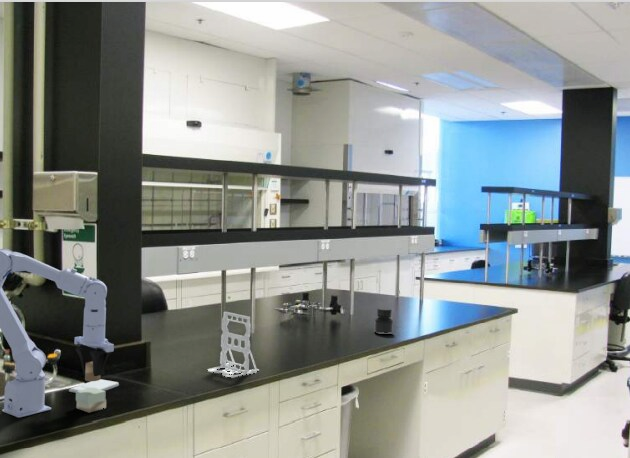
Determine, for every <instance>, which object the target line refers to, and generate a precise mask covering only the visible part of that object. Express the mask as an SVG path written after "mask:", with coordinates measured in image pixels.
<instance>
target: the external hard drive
mask: <svg viewBox="0 0 630 458" xmlns="http://www.w3.org/2000/svg"><path fill="white" fill-rule="evenodd" d="M119 386H120V384H119V382H118V381H112V380H108V379H107V380H106V379H103V378H102V379H101V378H100V380H98V381H87V382H86V383H83V384H79V385H76V386H74V387H71V388H69V389H68V392H70V393H75V394H76V391H80V390H84V389H89V388H93V387H94V388H97V389H100V390H103V391H108V390H111V389H113V388H117V387H119Z"/></svg>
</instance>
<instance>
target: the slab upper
mask: <svg viewBox="0 0 630 458" xmlns="http://www.w3.org/2000/svg"><path fill="white" fill-rule="evenodd" d="M106 391H107V390H105V391H103V390H100V389H97V388H94V387H93V388H89V389H84V390H80V391H76V393H75V401H76V402H77V401H79V402H82V403H85V404H87V405H88V404H92V403H97V402H101V401H105V400H106Z"/></svg>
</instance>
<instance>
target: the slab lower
mask: <svg viewBox="0 0 630 458" xmlns="http://www.w3.org/2000/svg"><path fill="white" fill-rule="evenodd" d="M75 408H76V409H78V410H81V411H84V412H87V413H92V412H97V411H101V410H104V409H106V408H107V399H105V401H101V402H97V403H92V404H88V405H87V404H85V403H82V402H79V401H76V407H75ZM103 408H104V409H103Z"/></svg>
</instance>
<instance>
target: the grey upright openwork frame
mask: <svg viewBox="0 0 630 458" xmlns="http://www.w3.org/2000/svg"><path fill="white" fill-rule="evenodd" d="M222 314H223V317H222V318H221V331H222V334H221V335H220V347H221V351H220V354H219V355H220V357H219V364H220V365H219V366H215V367H211V368H207V370H208V371H207V372H208V373H211V374H217V373H218V374H221V373H222V377H224V376H225V377H224V378H227V377H231V378H230V379H235V378H238V376H239V377H242V375H243V376H250V375H249V374H251V375H254V374H253V373H255V374H257V373H258V372H257V371H259V372H260V369H258V368H257V365H256V361H255V360H254V355H253V353H252V351H251V341H250V337H251V332H252V331H251V330H252V329H251V327H252V324H251V316H248V315H243V314H239V313H238V314H237V313H234V312H229V311H223V313H222ZM228 316H230V317H231V318H229V317H228ZM233 317H235V319H234V318H233ZM239 318H240V319H241V320H239ZM244 320H246V322H245V321H244ZM230 322H234V323H236V324H237V323H239V324H243V325H244V328H245V330H246V331H245V333H244V334H243V335H240V334H236V333H232V332H229V328H228V326H229V323H230ZM229 338H230V339H231V340H230V341H231V342H230V344H229ZM235 340H237V345H235ZM243 341H244V347H242V342H243ZM232 351H235V352H239V353H243V354H242V355H243V356H244V361H243V363H242V364H241V363H237V362H235V359H234V355H233V353H232ZM227 353H229V356H230V359H231V360H228V356H227ZM249 355H250V358H251V361H252V365H253V369H250V358H249ZM233 365H234V366H233ZM236 365H237V366H239V368H238V367H237V366H236ZM231 366H232V367H231ZM242 367H243V368H244V369H242ZM220 368H225V369H220ZM217 369H218V370H217ZM227 371H230V372H227ZM213 372H214V373H213ZM241 372H242V373H241ZM234 373H236V374H234ZM239 373H241V374H239ZM229 374H230V375H229ZM231 374H232V375H231ZM246 374H247V375H246Z"/></svg>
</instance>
